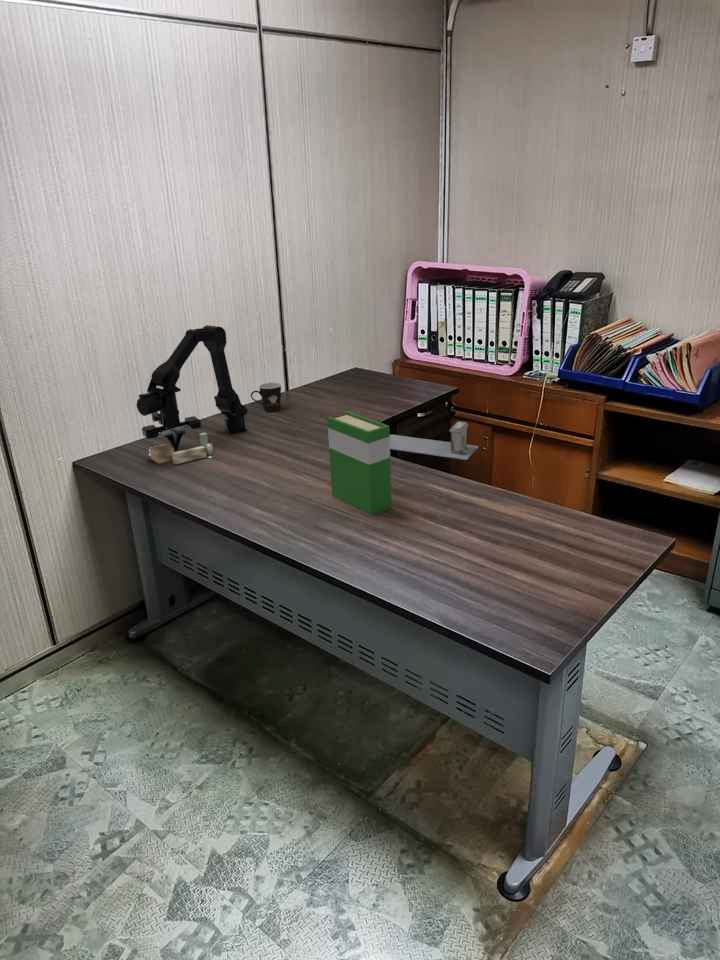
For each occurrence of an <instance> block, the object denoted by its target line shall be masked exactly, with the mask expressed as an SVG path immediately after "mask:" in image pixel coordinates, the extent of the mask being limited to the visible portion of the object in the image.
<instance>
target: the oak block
mask: <svg viewBox="0 0 720 960" xmlns="http://www.w3.org/2000/svg"><path fill="white" fill-rule="evenodd" d="M148 449H149V450H148V451H149V453H150V459H151V460H152V461H154V462H156V463H157V464H158V465H159V464H164V463H166V462H169V461H173V460H172V454H171V453H173V452H175V451H174V448H173V447H172V446H171V444H168V443H162V444H159V445H155V446H152V447H149V448H148Z"/></svg>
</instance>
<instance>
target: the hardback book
mask: <svg viewBox="0 0 720 960" xmlns="http://www.w3.org/2000/svg"><path fill="white" fill-rule="evenodd" d="M326 421H327V434H328V451H329V467H330V481H331V482H330V483H331V495H332V497H335V498H336V499H338V500H339V501H342V502H344V503H346V504H347V505H350V506H352V507H354V508H356V509H358V510H360V511H362V512H364V513H365V514H367V515H369V516H373V515H376V514H378V513H381V512H383V511H386V510H389V509H391V508H392V479H391V478H392V477H391V475H392V474H391V473H392V472H391V471H392V470H391V449H390V425H388V424H385V423H382V422H379V421H376V420H373V419H370V418H369V417H365V416H362V415H359V414H357V413H354V412H351V411H345V414H344V415H342V416H339V417H332V416H327V420H326Z"/></svg>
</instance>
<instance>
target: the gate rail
mask: <svg viewBox="0 0 720 960" xmlns="http://www.w3.org/2000/svg"><path fill="white" fill-rule="evenodd" d="M171 454H172V460H171V461H172V463H173V465H179V464H180V465H181V464H183V463H186V462H191V461H195V460H199V459H203V458H204V459H206V458H205V457H207V455H206V448H205V446H202V445H200V446H195V447H191V448H187V449H182V450H177V451H176V452H175V451H174V452H173V453H171Z"/></svg>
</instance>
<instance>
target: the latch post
mask: <svg viewBox="0 0 720 960" xmlns="http://www.w3.org/2000/svg"><path fill="white" fill-rule="evenodd" d="M208 437H209V436H208V433H206V432H201V433H199V439H200V441H199V443H200V446H204V447H205V444H207V443H209V438H208Z"/></svg>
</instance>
